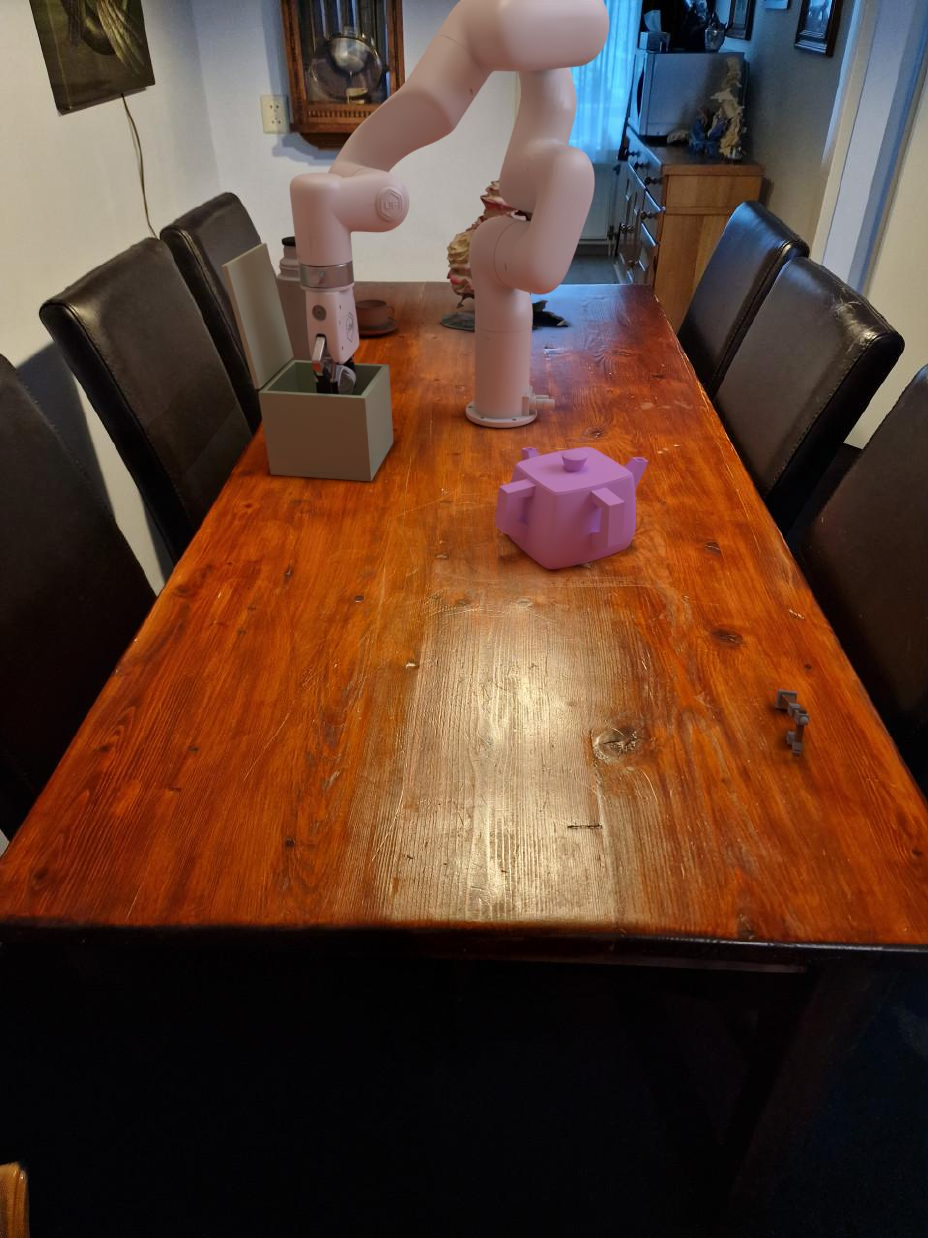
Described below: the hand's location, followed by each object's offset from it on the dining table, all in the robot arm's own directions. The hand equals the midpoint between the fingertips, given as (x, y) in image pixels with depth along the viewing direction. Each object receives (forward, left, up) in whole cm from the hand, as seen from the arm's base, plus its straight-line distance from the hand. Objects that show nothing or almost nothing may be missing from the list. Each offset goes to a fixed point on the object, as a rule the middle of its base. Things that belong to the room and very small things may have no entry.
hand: (337, 396), depth 123 cm
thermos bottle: (+11, -22, -10) cm, 27 cm away
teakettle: (-37, +20, -10) cm, 43 cm away
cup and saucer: (+12, -68, -10) cm, 70 cm away
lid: (+10, 0, +12) cm, 15 cm away
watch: (0, 0, -7) cm, 7 cm away
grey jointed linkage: (-60, +54, -10) cm, 81 cm away
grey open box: (+1, 0, -10) cm, 10 cm away
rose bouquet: (-15, -80, -10) cm, 82 cm away
